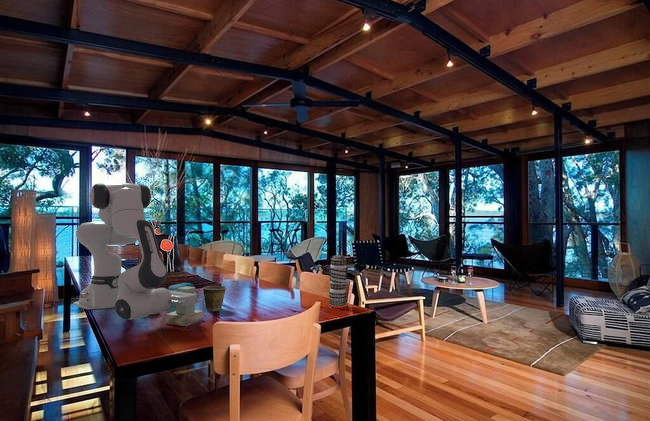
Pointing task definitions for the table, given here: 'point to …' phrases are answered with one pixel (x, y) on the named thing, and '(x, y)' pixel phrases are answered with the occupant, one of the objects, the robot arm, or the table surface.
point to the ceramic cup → (214, 297)
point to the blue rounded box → (174, 288)
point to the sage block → (187, 308)
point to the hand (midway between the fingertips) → (186, 293)
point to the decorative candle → (338, 281)
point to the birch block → (183, 318)
